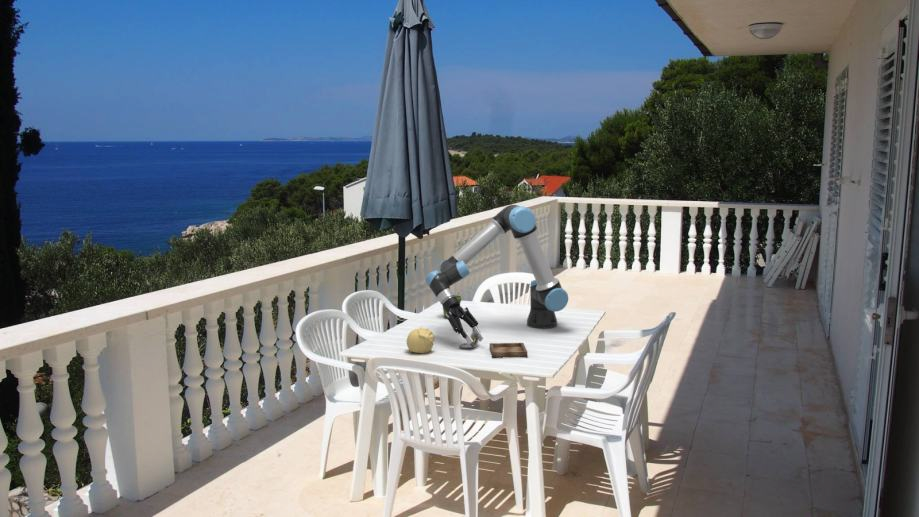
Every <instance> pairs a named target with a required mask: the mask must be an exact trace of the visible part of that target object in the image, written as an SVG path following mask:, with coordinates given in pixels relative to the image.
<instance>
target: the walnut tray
mask: <svg viewBox="0 0 919 517" xmlns="http://www.w3.org/2000/svg"><path fill="white" fill-rule="evenodd" d="M489 352H490V355H492V356H491V359H504V358H503V357H526V358H528V350H527V348H526V346H525V343H524V342H491V343H489Z"/></svg>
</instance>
